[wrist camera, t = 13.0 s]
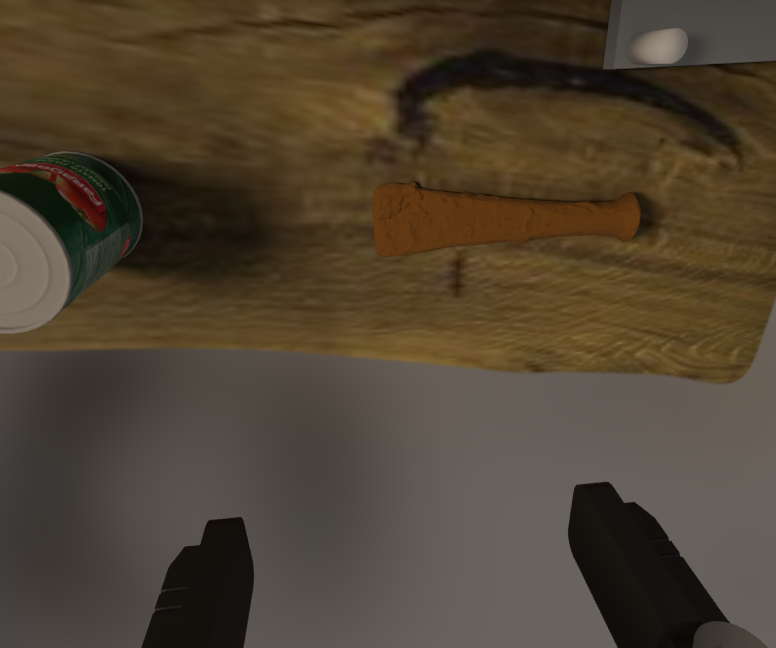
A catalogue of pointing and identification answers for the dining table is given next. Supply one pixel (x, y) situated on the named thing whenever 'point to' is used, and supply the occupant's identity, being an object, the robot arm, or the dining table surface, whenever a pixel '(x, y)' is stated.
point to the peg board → (689, 32)
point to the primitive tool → (488, 219)
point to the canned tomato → (60, 233)
